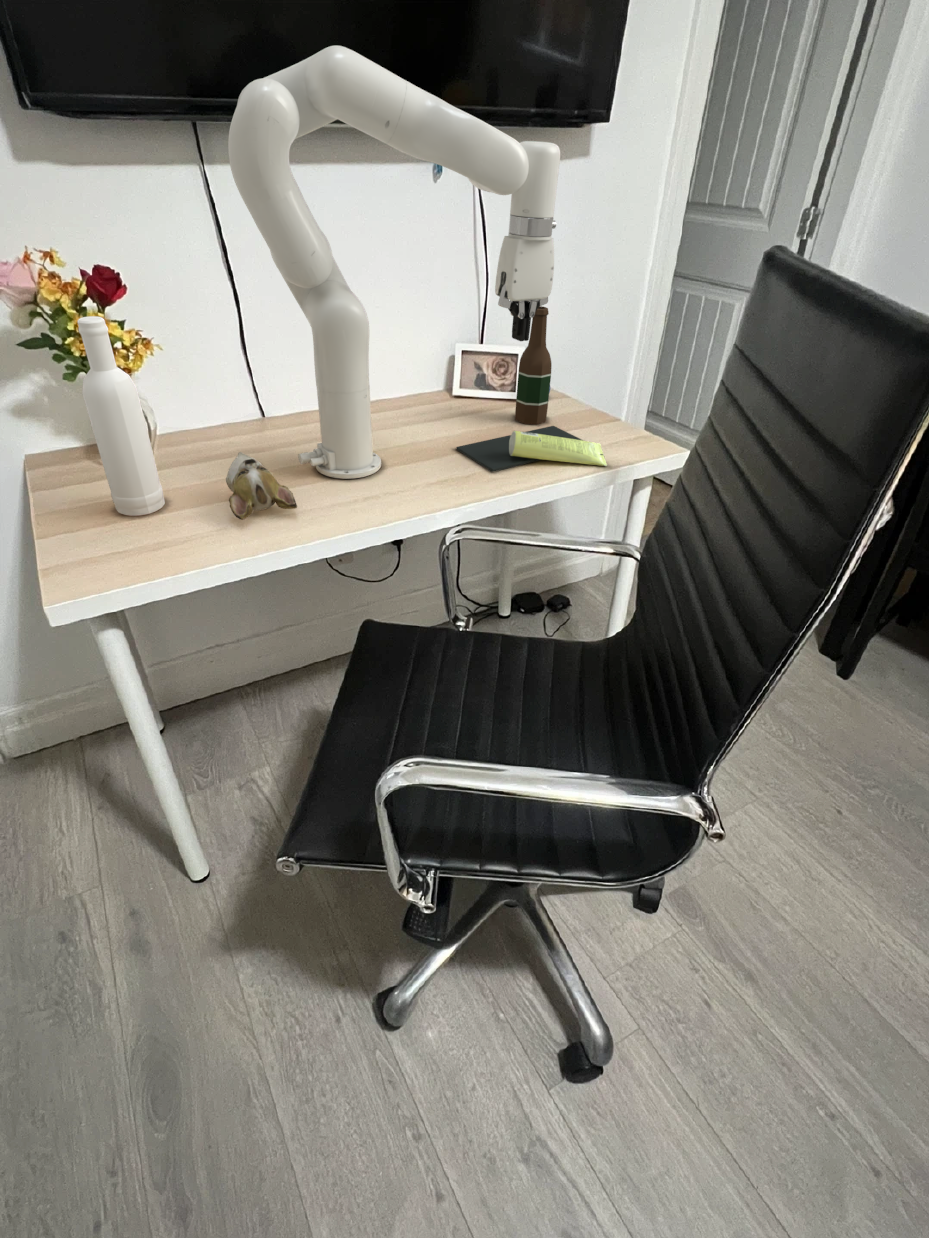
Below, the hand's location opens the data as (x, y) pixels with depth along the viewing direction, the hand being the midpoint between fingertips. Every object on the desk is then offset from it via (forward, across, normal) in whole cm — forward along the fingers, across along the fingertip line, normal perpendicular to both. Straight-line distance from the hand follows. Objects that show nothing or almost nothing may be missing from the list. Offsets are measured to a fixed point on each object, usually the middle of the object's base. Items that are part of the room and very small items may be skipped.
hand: (520, 339), depth 129 cm
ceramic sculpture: (+24, +53, -1) cm, 58 cm away
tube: (+19, +3, +4) cm, 19 cm away
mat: (+22, -4, 0) cm, 22 cm away
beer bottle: (+22, -16, -13) cm, 30 cm away
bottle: (+24, +70, -11) cm, 75 cm away
